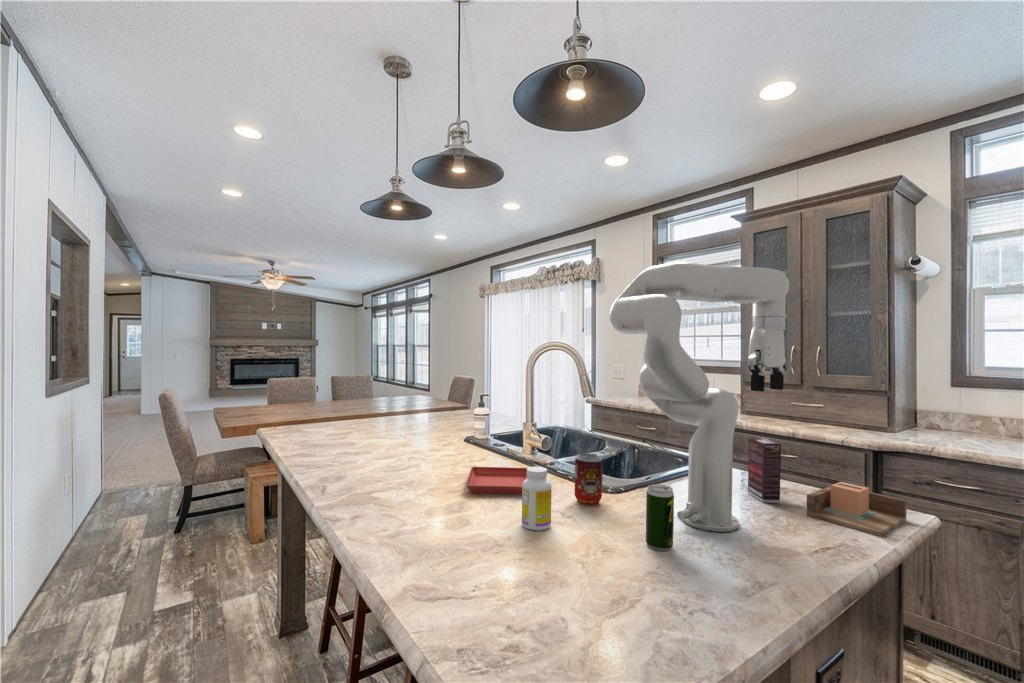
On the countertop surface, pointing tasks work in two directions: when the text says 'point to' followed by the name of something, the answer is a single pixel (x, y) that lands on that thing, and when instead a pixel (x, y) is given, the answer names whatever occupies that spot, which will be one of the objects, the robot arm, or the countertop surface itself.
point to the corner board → (877, 521)
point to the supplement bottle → (536, 499)
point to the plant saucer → (496, 480)
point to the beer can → (659, 517)
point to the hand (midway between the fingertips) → (767, 390)
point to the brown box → (850, 499)
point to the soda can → (588, 479)
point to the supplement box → (764, 469)
